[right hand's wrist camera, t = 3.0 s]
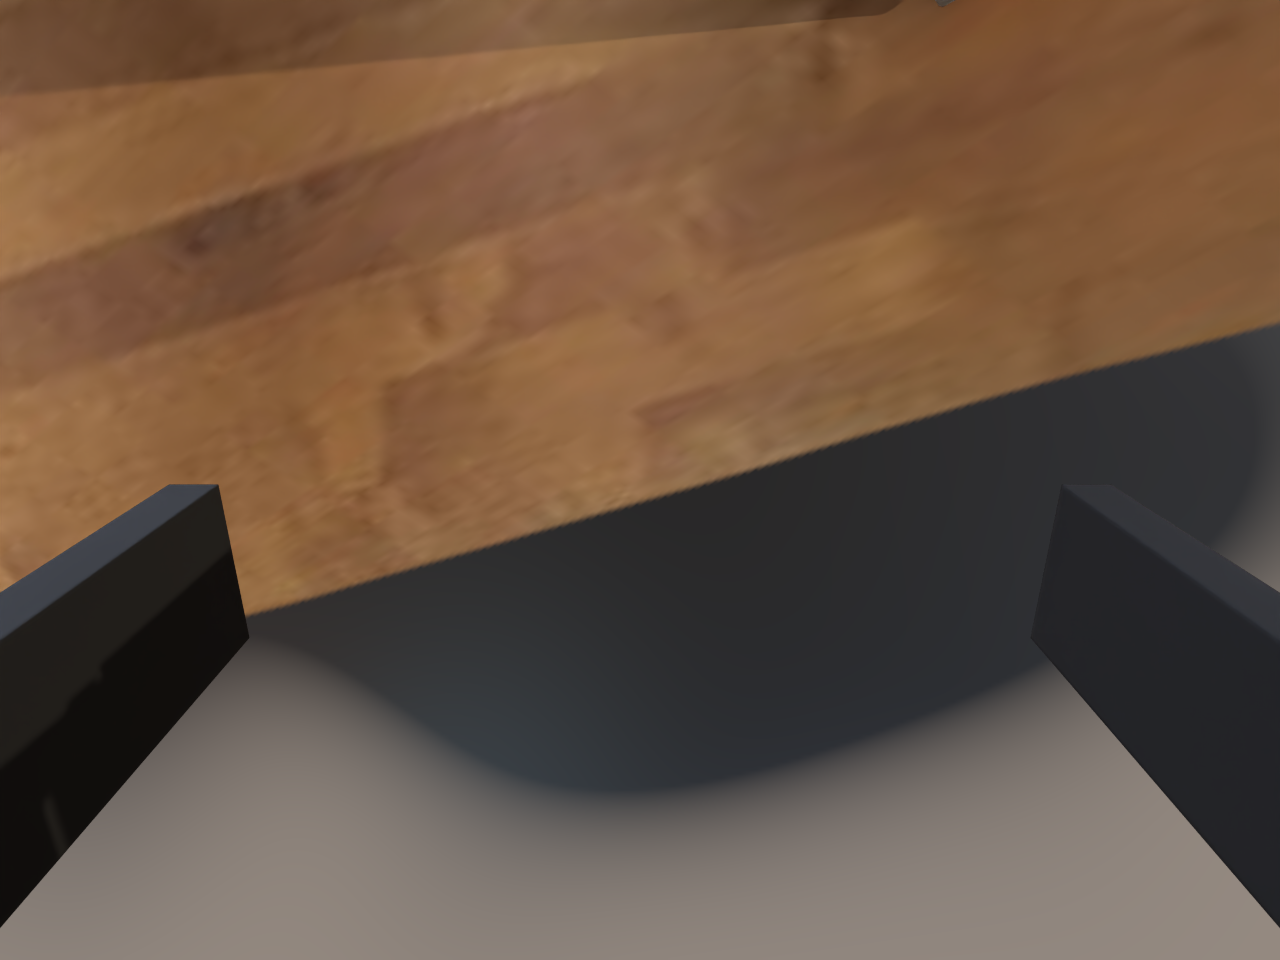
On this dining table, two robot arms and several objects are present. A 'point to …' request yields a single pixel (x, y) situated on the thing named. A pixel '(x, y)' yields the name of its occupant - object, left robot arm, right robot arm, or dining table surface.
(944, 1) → the hard drive box
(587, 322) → the dining table surface
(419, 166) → the dining table surface
